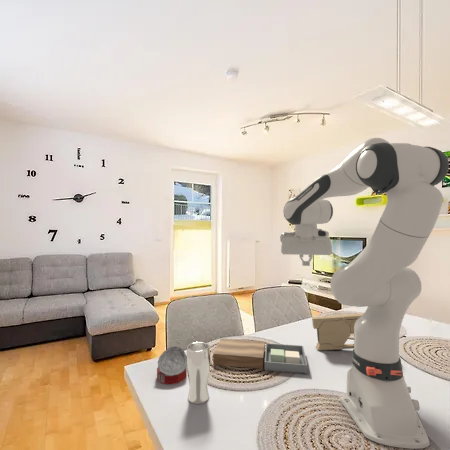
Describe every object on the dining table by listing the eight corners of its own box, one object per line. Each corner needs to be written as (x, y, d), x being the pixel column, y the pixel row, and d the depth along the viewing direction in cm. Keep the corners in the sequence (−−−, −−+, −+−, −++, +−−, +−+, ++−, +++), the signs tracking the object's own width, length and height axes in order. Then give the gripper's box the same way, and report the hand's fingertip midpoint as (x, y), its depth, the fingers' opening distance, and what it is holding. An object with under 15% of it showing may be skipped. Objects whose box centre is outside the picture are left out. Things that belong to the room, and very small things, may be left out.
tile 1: (284, 362, 102) (284, 355, 102) (270, 361, 103) (270, 354, 103) (284, 356, 107) (284, 349, 107) (270, 355, 108) (270, 348, 108)
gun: (376, 349, 113) (372, 312, 114) (380, 353, 110) (376, 315, 110) (315, 352, 116) (311, 316, 116) (317, 356, 112) (313, 318, 113)
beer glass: (188, 407, 77) (188, 352, 77) (185, 392, 84) (185, 342, 84) (212, 402, 79) (212, 349, 79) (207, 389, 86) (207, 340, 86)
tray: (307, 374, 94) (307, 365, 94) (264, 370, 97) (264, 361, 97) (302, 353, 110) (302, 345, 110) (266, 350, 113) (265, 343, 113)
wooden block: (263, 369, 98) (263, 357, 98) (213, 364, 101) (213, 353, 101) (264, 351, 112) (264, 341, 112) (220, 348, 115) (220, 338, 115)
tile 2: (285, 356, 101) (285, 363, 101) (299, 357, 100) (299, 364, 100) (285, 350, 106) (285, 357, 106) (298, 351, 105) (298, 358, 105)
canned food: (186, 385, 96) (199, 362, 95) (167, 398, 87) (181, 372, 86) (164, 363, 101) (176, 340, 100) (144, 373, 92) (157, 348, 91)
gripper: (280, 232, 114) (280, 266, 114) (332, 232, 110) (333, 267, 110) (280, 232, 120) (280, 264, 120) (329, 232, 117) (330, 265, 116)
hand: (306, 265), depth 115 cm, fingers closed
